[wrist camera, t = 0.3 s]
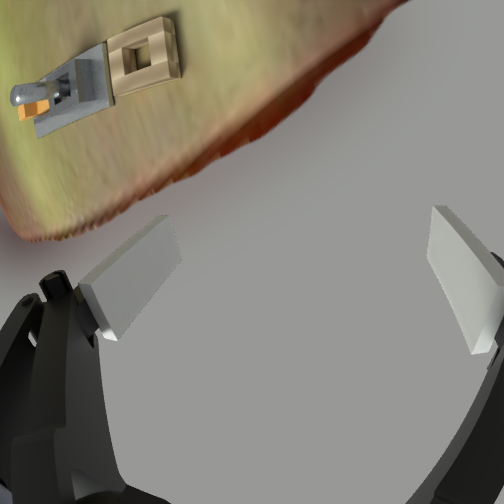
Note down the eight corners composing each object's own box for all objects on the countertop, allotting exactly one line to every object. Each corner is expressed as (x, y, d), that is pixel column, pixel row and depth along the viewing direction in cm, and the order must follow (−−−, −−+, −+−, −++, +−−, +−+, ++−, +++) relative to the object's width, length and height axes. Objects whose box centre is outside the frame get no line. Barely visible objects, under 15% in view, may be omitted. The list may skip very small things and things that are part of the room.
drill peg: (70, 82, 37) (9, 90, 25) (82, 76, 37) (19, 81, 25) (72, 97, 39) (11, 109, 27) (84, 92, 38) (21, 101, 26)
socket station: (34, 86, 40) (15, 89, 36) (106, 43, 34) (86, 41, 30) (41, 137, 45) (23, 143, 41) (114, 105, 40) (93, 108, 35)
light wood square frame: (120, 41, 34) (107, 39, 31) (173, 20, 31) (162, 16, 28) (126, 95, 38) (113, 96, 35) (181, 78, 36) (169, 77, 33)
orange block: (36, 103, 40) (17, 107, 36) (59, 89, 38) (39, 91, 34) (37, 116, 42) (19, 121, 37) (60, 103, 40) (41, 106, 35)
